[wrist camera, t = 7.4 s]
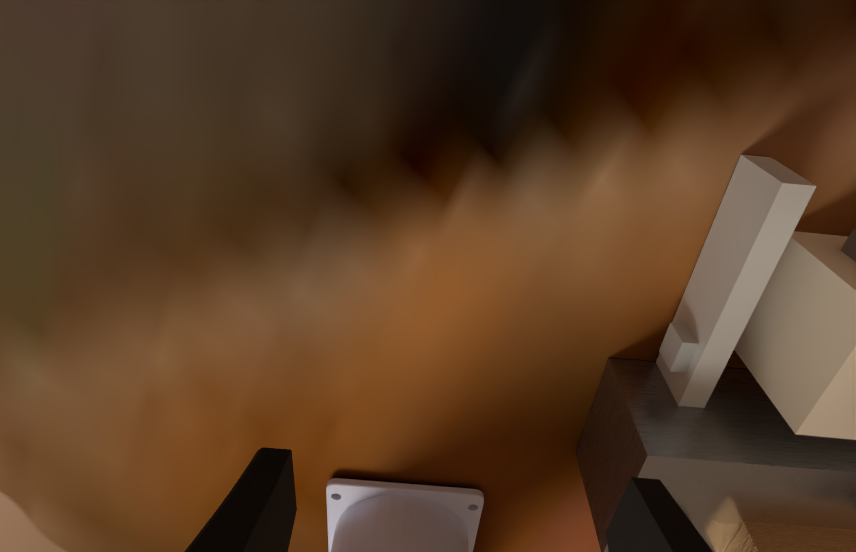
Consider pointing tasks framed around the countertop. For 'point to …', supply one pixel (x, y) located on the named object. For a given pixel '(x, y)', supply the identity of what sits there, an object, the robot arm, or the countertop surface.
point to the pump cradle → (731, 274)
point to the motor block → (718, 463)
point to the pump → (808, 336)
